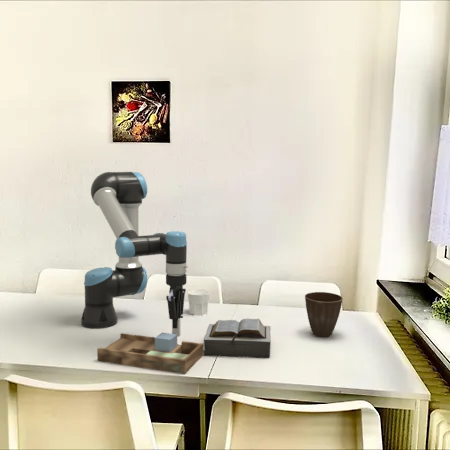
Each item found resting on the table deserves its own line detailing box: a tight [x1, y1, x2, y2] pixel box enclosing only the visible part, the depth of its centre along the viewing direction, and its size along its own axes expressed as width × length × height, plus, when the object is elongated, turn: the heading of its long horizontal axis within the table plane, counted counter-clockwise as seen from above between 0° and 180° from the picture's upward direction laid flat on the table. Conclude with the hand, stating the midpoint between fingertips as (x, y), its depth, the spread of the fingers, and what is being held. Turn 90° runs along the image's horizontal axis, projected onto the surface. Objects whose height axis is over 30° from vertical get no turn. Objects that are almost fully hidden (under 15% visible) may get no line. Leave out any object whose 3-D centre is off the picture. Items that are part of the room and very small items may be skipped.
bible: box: [203, 318, 272, 359], centre depth 192 cm, size 23×27×10 cm
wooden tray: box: [96, 332, 204, 375], centre depth 181 cm, size 33×17×4 cm, turn 72°
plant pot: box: [304, 291, 344, 339], centre depth 207 cm, size 15×15×16 cm
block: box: [154, 332, 178, 352], centre depth 183 cm, size 6×6×4 cm
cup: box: [187, 289, 211, 317], centre depth 235 cm, size 10×10×10 cm
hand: (176, 335), depth 191 cm, fingers closed
